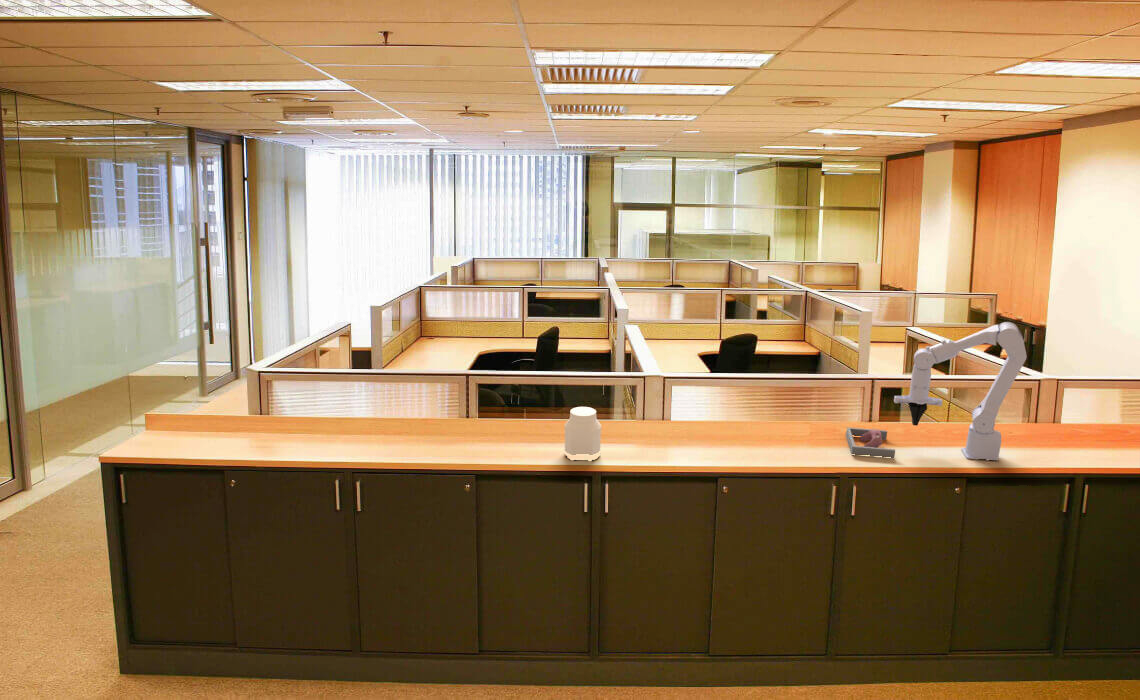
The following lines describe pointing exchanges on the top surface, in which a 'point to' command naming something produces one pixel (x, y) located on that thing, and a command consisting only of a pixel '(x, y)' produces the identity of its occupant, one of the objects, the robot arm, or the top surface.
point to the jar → (582, 432)
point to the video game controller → (872, 438)
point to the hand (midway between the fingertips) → (914, 424)
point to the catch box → (867, 450)
